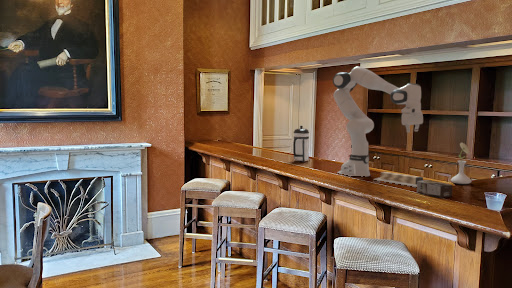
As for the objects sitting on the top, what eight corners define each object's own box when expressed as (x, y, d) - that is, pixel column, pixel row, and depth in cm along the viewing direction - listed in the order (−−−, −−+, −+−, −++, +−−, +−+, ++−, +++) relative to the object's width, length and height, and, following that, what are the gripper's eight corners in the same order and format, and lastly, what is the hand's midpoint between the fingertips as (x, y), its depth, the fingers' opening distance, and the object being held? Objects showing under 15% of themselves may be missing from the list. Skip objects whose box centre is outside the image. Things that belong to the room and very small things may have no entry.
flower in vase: (472, 186, 243) (474, 144, 241) (451, 184, 247) (453, 143, 244) (469, 181, 256) (471, 141, 253) (449, 180, 259) (451, 141, 257)
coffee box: (416, 192, 229) (439, 198, 214) (416, 180, 228) (440, 186, 213) (428, 190, 232) (452, 196, 218) (429, 179, 232) (453, 184, 217)
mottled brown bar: (380, 178, 263) (380, 172, 262) (383, 177, 265) (384, 171, 265) (419, 184, 243) (419, 178, 243) (422, 183, 246) (423, 177, 245)
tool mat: (373, 180, 262) (373, 178, 262) (384, 177, 270) (384, 176, 270) (418, 187, 239) (418, 186, 239) (428, 184, 247) (428, 183, 247)
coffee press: (289, 160, 349) (289, 125, 346) (307, 159, 351) (308, 124, 347) (293, 163, 332) (293, 126, 329) (312, 163, 334) (313, 126, 330)
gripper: (416, 109, 263) (415, 130, 265) (399, 109, 250) (399, 132, 251) (426, 109, 258) (425, 131, 260) (409, 110, 245) (408, 133, 246)
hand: (412, 131), depth 255 cm, fingers open, 8 cm apart
